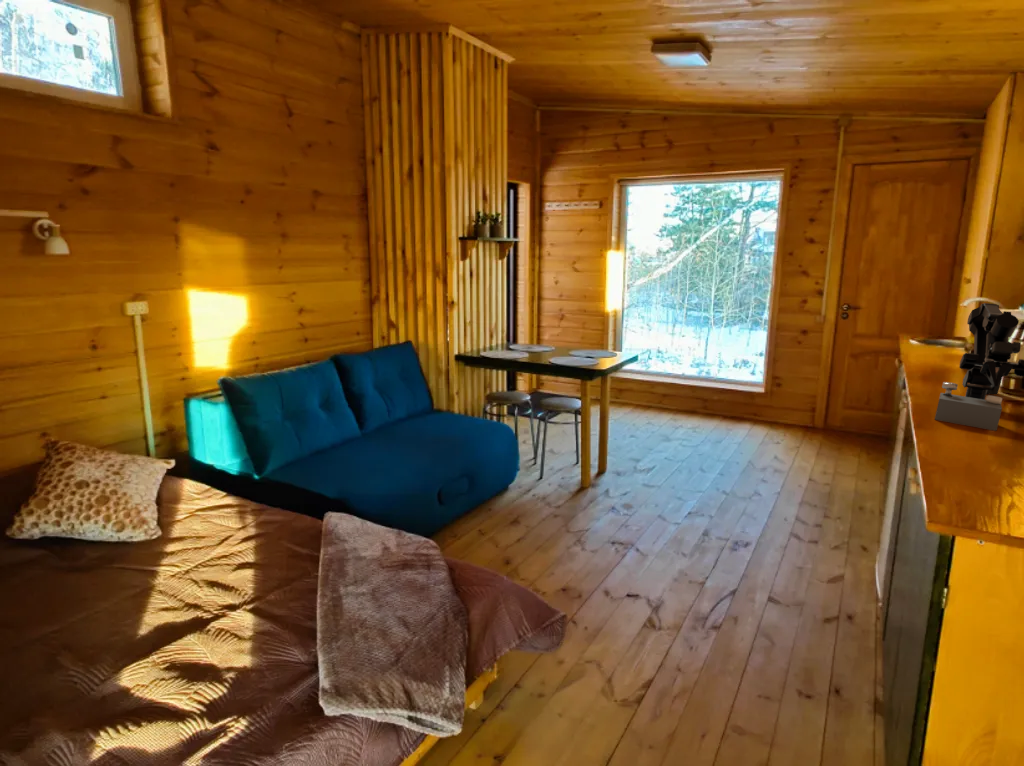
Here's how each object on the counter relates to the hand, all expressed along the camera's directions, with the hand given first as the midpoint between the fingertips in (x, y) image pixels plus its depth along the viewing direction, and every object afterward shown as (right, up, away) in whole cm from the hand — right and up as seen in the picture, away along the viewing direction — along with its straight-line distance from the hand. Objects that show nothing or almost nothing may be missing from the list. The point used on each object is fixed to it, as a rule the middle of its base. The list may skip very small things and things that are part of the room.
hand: (995, 386), depth 202 cm
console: (-8, -11, +2) cm, 14 cm away
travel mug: (+30, -3, +45) cm, 54 cm away
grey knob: (-11, -3, +6) cm, 13 cm away
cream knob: (-1, -7, 0) cm, 7 cm away
